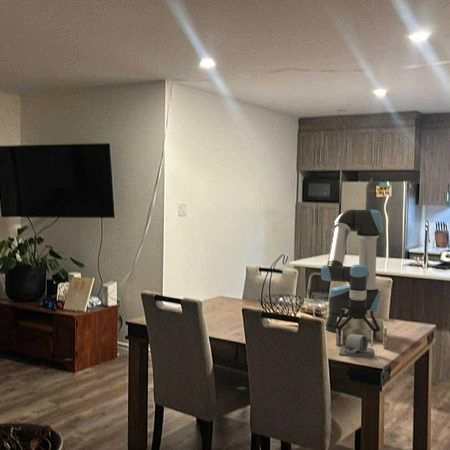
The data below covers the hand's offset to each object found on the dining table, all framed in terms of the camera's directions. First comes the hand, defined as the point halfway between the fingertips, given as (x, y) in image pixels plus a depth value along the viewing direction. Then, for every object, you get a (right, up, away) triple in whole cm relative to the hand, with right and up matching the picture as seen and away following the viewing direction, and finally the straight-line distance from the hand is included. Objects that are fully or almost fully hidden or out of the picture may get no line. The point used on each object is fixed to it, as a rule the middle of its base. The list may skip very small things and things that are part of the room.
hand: (356, 344), depth 261 cm
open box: (+6, -3, +18) cm, 19 cm away
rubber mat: (0, -4, 0) cm, 4 cm away
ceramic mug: (-1, -3, -1) cm, 3 cm away
